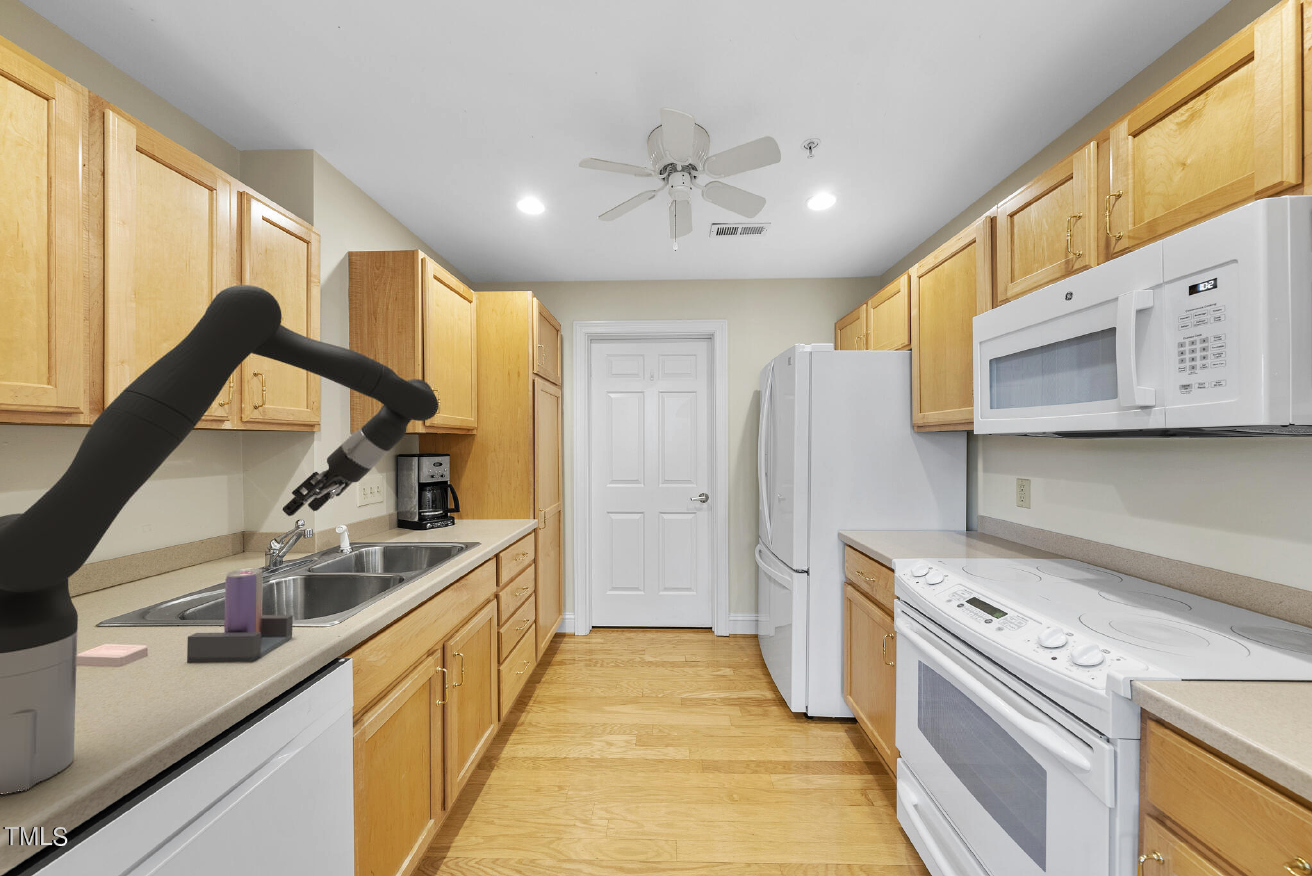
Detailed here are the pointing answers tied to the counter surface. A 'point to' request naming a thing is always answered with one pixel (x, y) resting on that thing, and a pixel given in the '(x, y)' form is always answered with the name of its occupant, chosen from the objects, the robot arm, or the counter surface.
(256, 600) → the beverage can
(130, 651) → the soap bar
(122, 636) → the counter surface
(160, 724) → the counter surface
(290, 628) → the duct channel
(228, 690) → the counter surface
